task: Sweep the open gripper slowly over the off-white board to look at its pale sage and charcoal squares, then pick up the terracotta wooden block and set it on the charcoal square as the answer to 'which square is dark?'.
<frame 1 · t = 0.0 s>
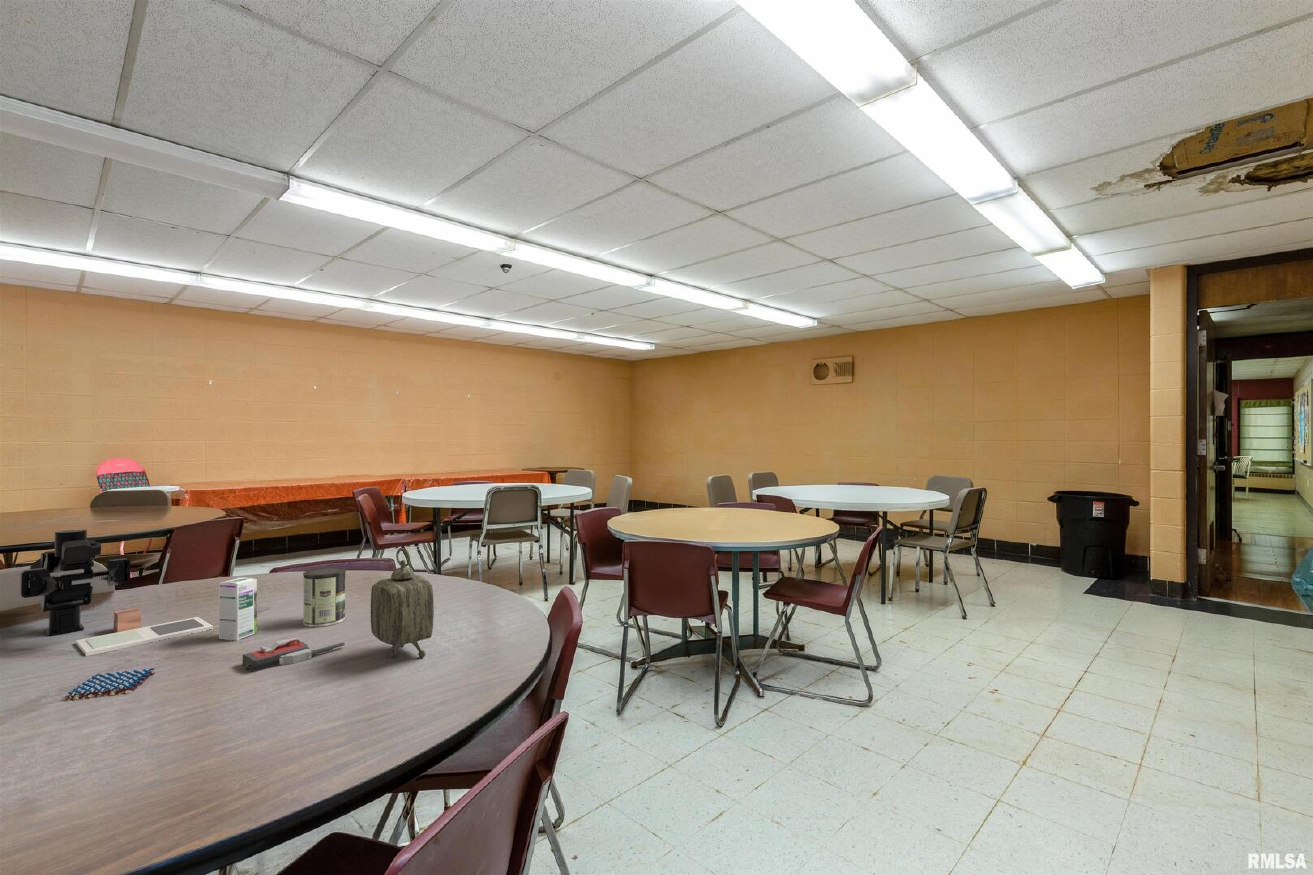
hand: (84, 582, 133), 17 cm above the table, tool horizontal, fingers open, 9 cm apart
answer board: (147, 636, 145), on the table
coffee can: (324, 622, 158), on the table
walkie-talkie: (293, 659, 132), on the table
syrup box: (237, 637, 145), on the table
terracotta block: (127, 630, 149), on the table
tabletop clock: (400, 655, 134), on the table
woven mat: (111, 690, 116), on the table
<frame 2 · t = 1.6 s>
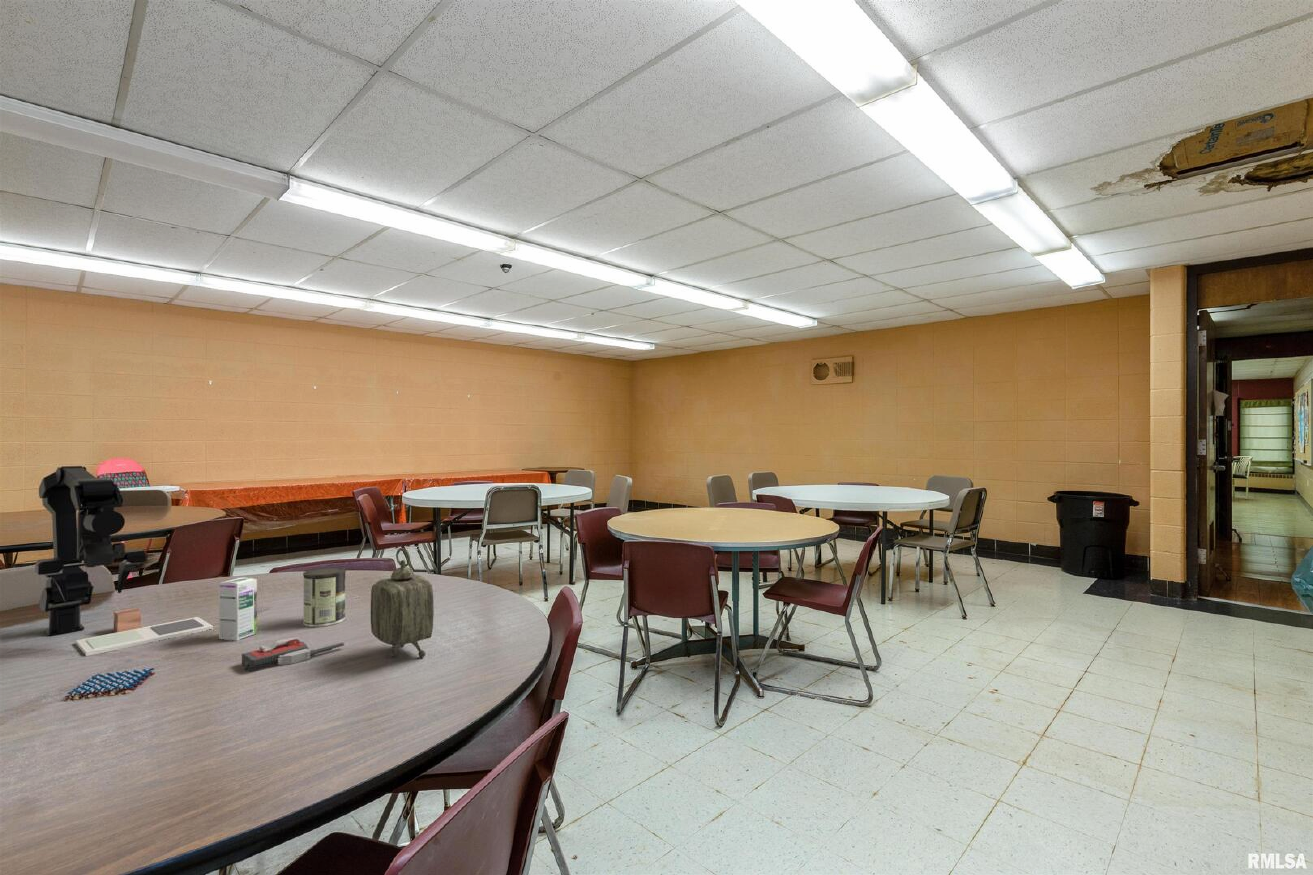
hand: (93, 596, 137), 12 cm above the table, tool pointing down, fingers open, 9 cm apart
nothing on the table moved.
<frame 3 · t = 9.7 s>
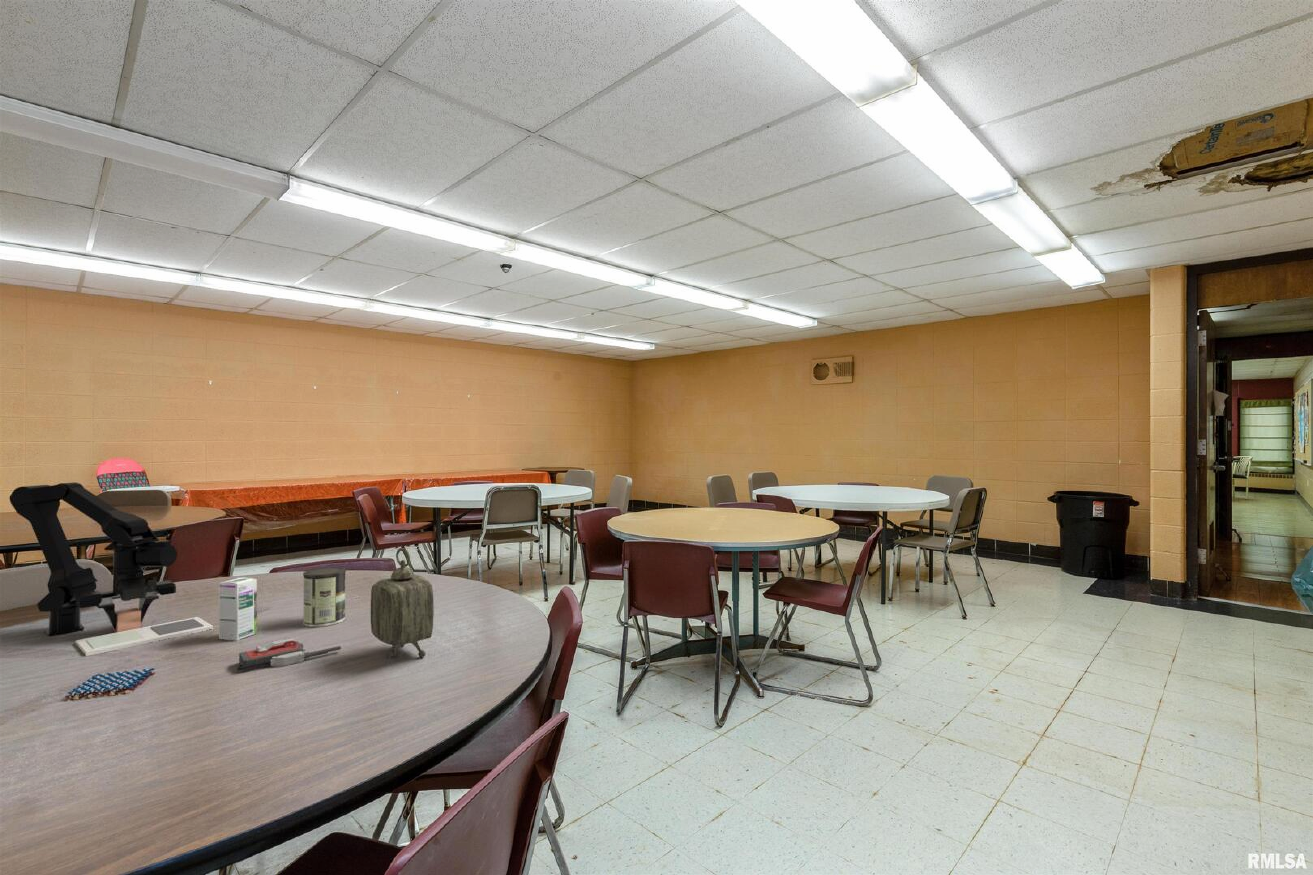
hand: (127, 626, 149), 1 cm above the table, tool pointing down, fingers closed on terracotta block, 4 cm apart
terracotta block: (127, 630, 149), on the table, touching gripper
when the fingers open (3 cm above the table, at t = 14.4 s): terracotta block drops 1 cm, resting on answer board.
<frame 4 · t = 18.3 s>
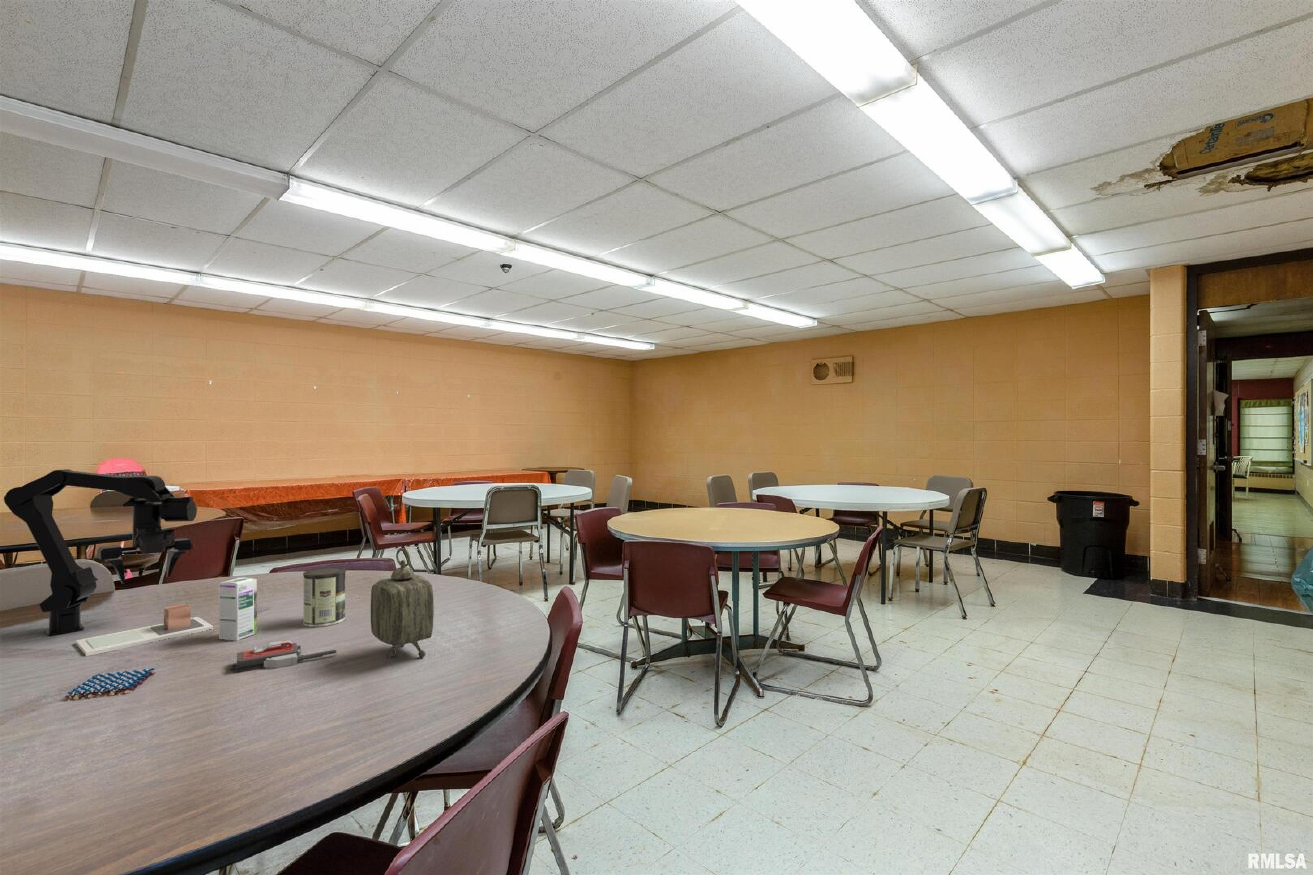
hand: (146, 580, 154), 12 cm above the table, tool pointing down, fingers open, 9 cm apart
terracotta block: (177, 626, 150), point 1 cm above the table, touching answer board
at the end: terracotta block 0.0 cm from the target spot on the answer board, point 1.0 cm above the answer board's base; terracotta block tilted 0°; the gripper is holding nothing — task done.
